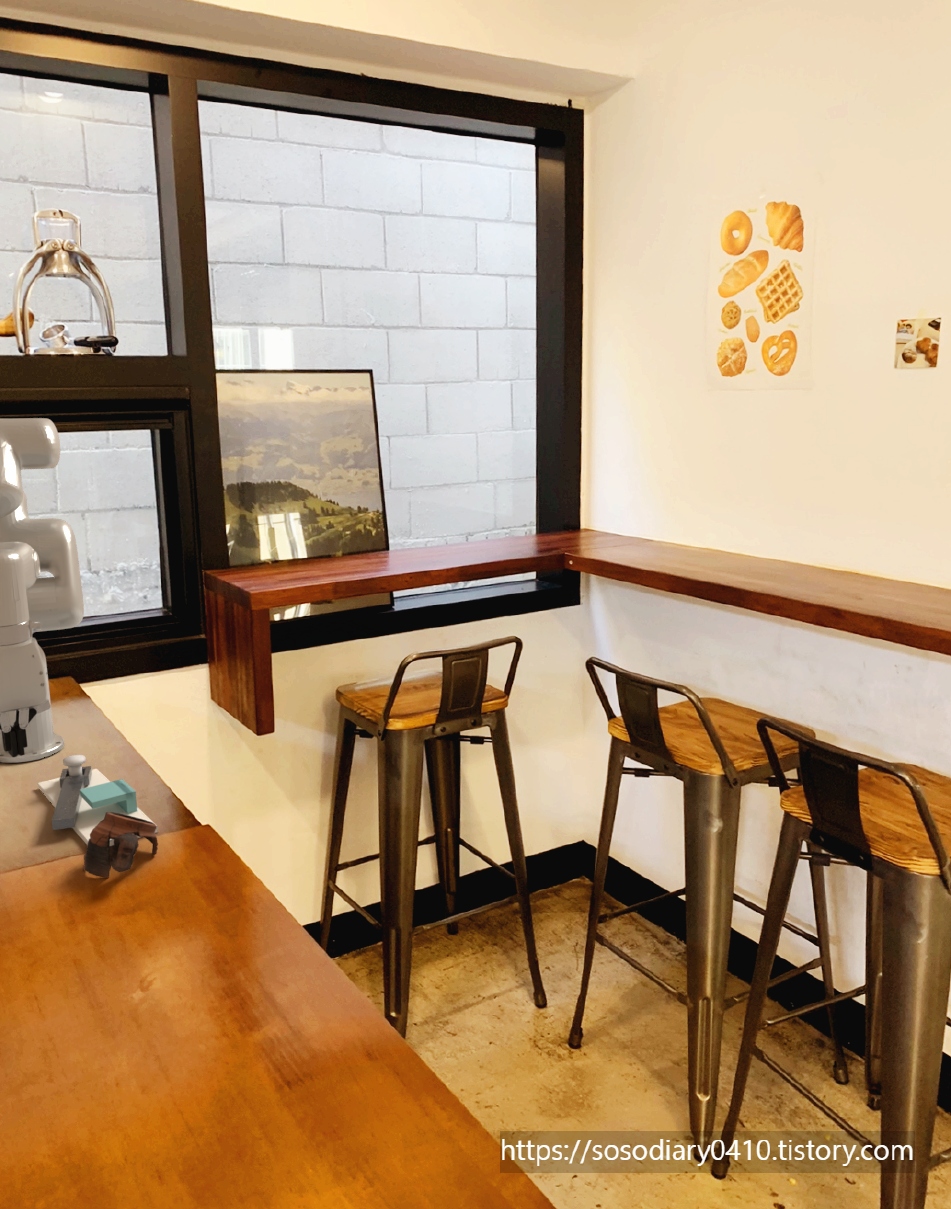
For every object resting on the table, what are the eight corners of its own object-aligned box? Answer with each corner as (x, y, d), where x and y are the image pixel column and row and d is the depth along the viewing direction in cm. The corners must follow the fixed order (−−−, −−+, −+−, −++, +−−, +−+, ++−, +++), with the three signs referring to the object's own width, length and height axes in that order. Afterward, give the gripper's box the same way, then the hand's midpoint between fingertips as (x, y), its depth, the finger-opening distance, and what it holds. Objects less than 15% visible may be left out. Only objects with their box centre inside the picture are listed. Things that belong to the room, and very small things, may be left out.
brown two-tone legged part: (72, 864, 133) (92, 806, 135) (138, 877, 138) (157, 821, 140) (88, 879, 123) (110, 816, 125) (158, 893, 128) (178, 832, 129)
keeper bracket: (81, 809, 147) (79, 789, 146) (124, 798, 151) (122, 778, 150) (94, 823, 142) (92, 802, 141) (137, 811, 146) (135, 791, 145)
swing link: (63, 777, 158) (62, 768, 158) (91, 774, 159) (91, 765, 159) (47, 830, 139) (46, 821, 139) (79, 826, 140) (78, 817, 140)
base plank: (38, 788, 157) (35, 758, 156) (97, 773, 163) (94, 745, 161) (92, 851, 136) (89, 817, 134) (158, 832, 141) (155, 799, 140)
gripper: (49, 622, 146) (61, 736, 149) (-61, 638, 136) (-45, 758, 140) (63, 631, 140) (75, 749, 144) (-50, 647, 131) (-34, 773, 134)
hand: (16, 753), depth 142 cm, fingers closed
